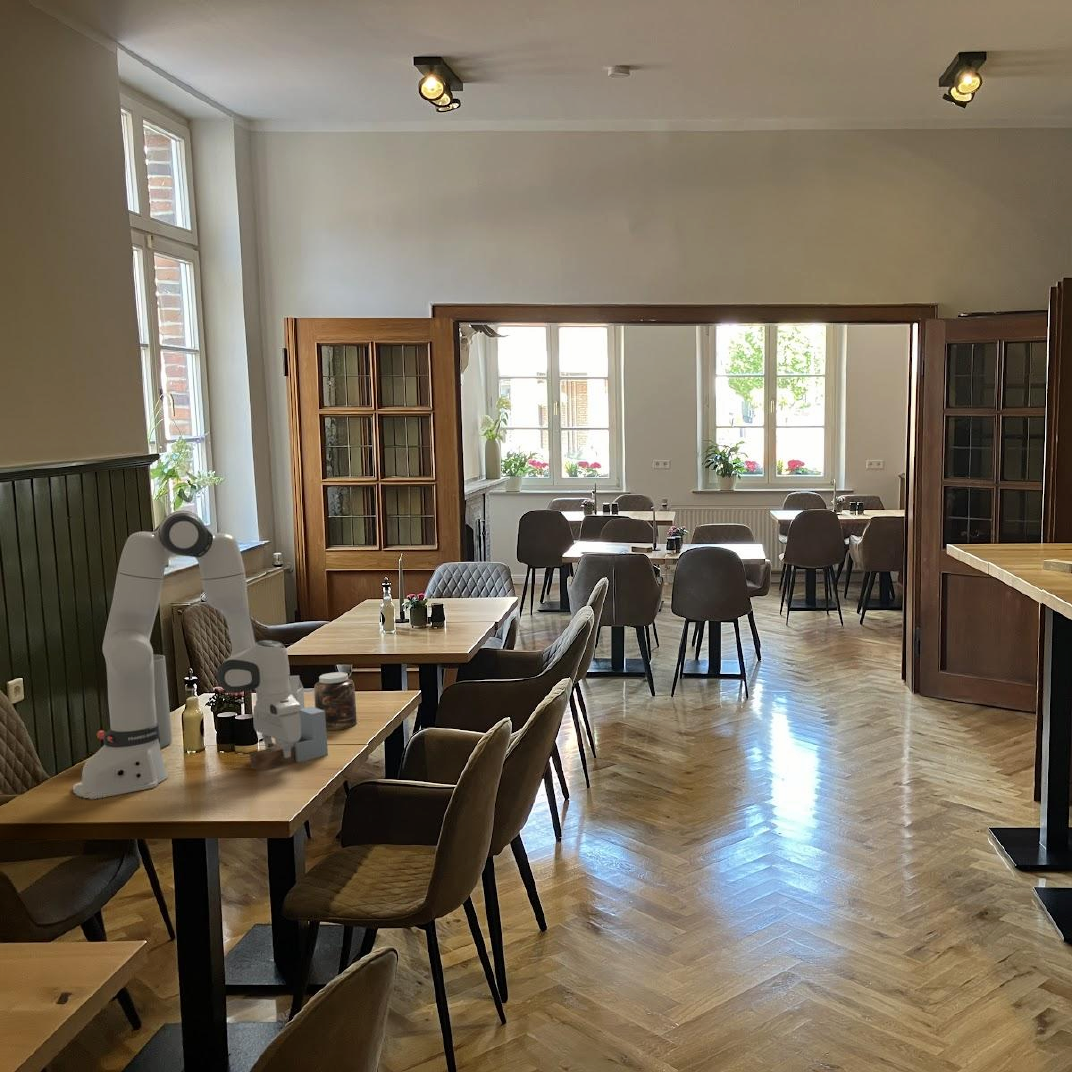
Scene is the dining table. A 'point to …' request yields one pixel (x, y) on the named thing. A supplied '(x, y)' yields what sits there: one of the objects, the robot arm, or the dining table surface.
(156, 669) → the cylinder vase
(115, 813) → the dining table surface
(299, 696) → the milk carton
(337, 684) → the jar
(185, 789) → the dining table surface
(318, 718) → the blue l-shaped block
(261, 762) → the rail
